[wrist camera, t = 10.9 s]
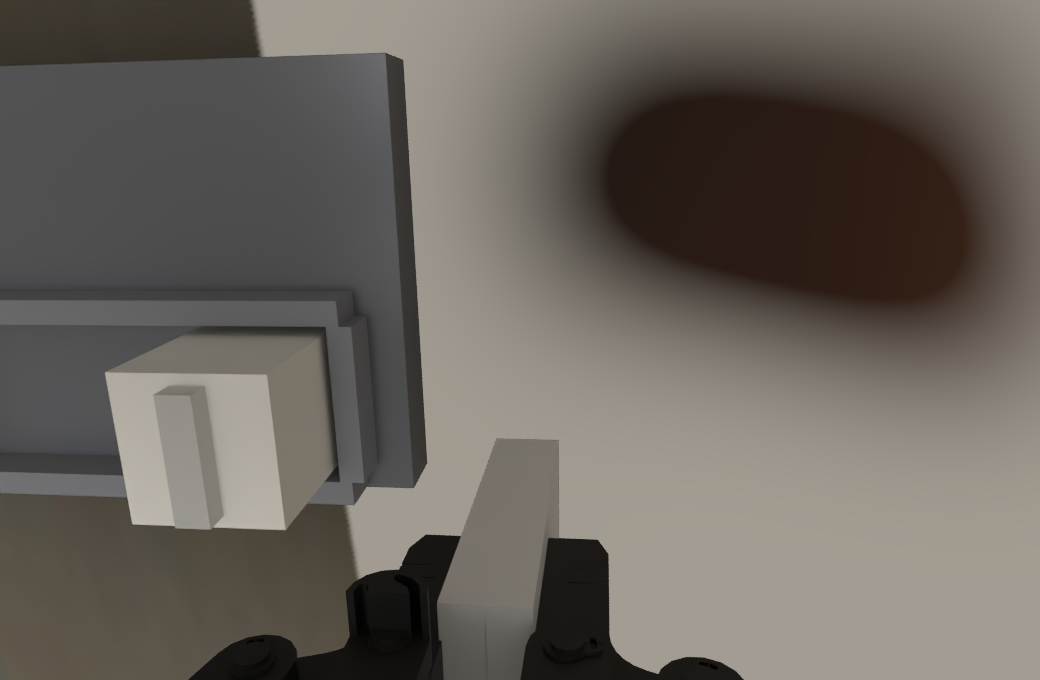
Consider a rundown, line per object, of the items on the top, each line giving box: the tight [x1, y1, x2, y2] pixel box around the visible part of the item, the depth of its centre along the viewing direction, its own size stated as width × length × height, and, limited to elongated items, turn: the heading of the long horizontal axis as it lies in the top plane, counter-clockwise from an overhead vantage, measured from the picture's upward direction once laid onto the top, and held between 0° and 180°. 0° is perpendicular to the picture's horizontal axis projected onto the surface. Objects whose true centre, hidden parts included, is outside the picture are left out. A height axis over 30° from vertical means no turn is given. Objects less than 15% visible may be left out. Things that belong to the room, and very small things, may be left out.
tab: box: [105, 326, 338, 530], centre depth 22 cm, size 4×4×6 cm
